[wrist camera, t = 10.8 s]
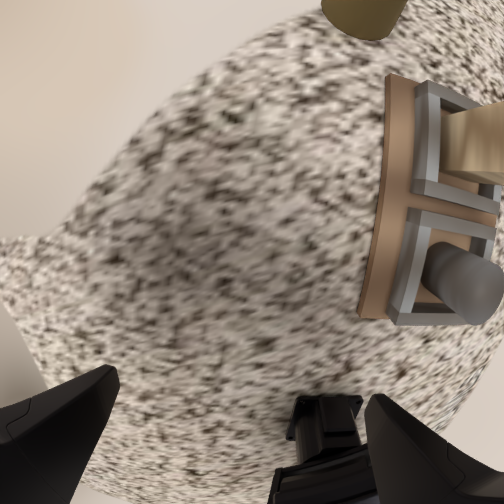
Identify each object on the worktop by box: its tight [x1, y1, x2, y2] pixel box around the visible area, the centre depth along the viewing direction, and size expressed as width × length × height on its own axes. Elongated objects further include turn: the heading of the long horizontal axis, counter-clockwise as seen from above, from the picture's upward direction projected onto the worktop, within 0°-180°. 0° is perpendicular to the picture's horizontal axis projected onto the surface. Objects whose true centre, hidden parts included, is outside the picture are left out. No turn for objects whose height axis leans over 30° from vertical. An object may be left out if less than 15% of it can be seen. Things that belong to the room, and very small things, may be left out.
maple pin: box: [439, 101, 504, 186], centre depth 12 cm, size 4×4×8 cm
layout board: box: [357, 73, 504, 326], centre depth 14 cm, size 18×12×7 cm, turn 175°
